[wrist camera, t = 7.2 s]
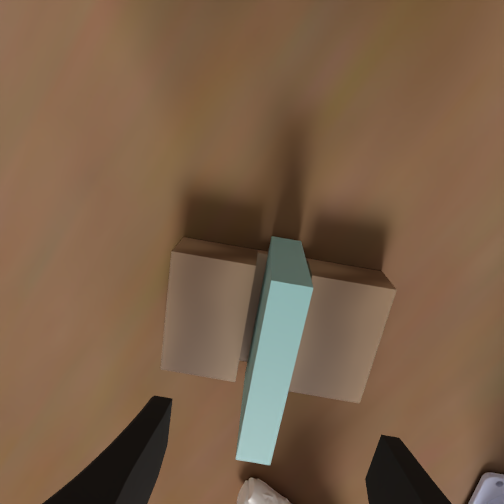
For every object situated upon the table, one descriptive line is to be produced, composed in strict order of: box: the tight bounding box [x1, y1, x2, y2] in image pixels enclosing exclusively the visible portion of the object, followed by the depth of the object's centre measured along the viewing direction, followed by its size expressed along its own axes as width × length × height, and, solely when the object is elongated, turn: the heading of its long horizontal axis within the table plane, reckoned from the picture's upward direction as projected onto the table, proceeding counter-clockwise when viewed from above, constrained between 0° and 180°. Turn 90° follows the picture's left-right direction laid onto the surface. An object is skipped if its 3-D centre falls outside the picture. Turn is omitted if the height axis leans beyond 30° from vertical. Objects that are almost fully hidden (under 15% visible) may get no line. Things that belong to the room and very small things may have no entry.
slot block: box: [160, 237, 397, 403], centre depth 20 cm, size 11×7×2 cm, turn 81°
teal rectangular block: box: [236, 236, 313, 465], centre depth 18 cm, size 2×9×6 cm, turn 171°
